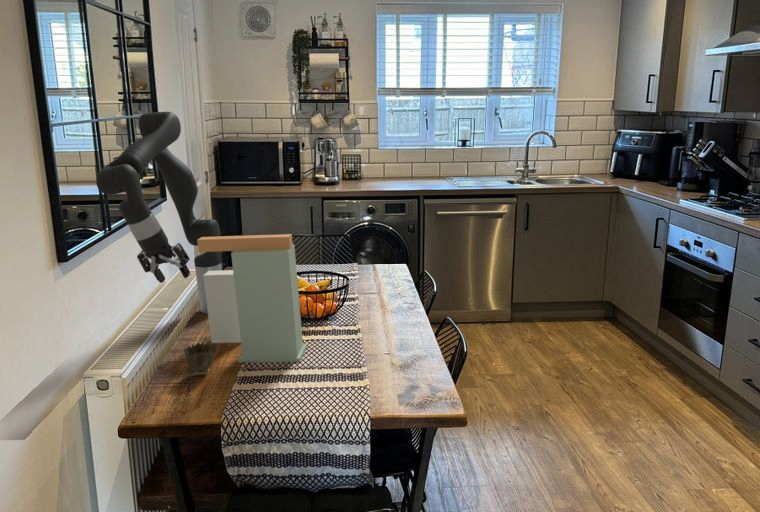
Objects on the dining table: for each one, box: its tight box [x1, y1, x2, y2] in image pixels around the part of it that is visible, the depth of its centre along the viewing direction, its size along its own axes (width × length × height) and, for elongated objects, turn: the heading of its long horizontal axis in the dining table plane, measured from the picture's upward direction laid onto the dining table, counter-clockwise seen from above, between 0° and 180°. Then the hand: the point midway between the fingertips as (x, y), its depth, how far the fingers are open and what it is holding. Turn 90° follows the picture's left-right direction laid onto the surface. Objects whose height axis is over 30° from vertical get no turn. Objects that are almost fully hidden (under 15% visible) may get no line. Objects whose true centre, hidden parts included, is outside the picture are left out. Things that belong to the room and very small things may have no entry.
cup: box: [183, 342, 213, 377], centre depth 169 cm, size 8×7×8 cm
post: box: [203, 269, 241, 344], centre depth 191 cm, size 5×10×22 cm, turn 86°
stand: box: [230, 243, 308, 364], centre depth 177 cm, size 11×18×32 cm, turn 86°
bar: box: [197, 233, 294, 253], centre depth 173 cm, size 4×26×4 cm, turn 86°
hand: (175, 278), depth 179 cm, fingers open, 8 cm apart
